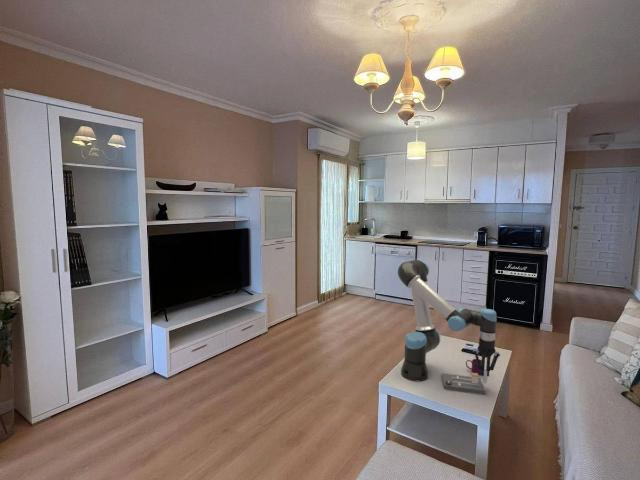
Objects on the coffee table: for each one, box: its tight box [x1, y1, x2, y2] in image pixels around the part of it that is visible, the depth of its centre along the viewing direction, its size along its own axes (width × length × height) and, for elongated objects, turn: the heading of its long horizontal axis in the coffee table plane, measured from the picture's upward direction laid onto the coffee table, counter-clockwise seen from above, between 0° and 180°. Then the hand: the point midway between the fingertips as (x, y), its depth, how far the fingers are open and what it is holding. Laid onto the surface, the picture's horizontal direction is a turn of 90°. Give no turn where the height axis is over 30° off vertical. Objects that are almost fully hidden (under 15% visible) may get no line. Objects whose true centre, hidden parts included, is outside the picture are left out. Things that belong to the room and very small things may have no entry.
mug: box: [465, 358, 486, 376], centre depth 203 cm, size 7×10×7 cm
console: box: [441, 372, 486, 395], centre depth 188 cm, size 20×14×3 cm
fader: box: [470, 372, 480, 384], centre depth 186 cm, size 3×3×5 cm
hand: (484, 381), depth 185 cm, fingers closed
